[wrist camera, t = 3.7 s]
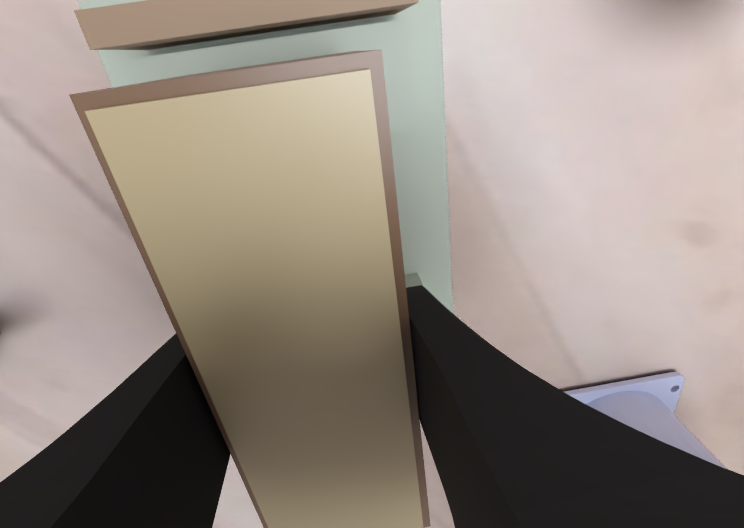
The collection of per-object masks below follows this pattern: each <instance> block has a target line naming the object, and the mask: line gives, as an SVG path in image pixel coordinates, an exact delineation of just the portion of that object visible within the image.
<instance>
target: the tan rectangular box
mask: <svg viewBox="0 0 744 528" xmlns="http://www.w3.org/2000/svg"><path fill="white" fill-rule="evenodd" d="M70 98H71V100H72V102H73V104H74V107H75V109H76V111H77V113H78V115H79V118H80V120H81V122H82V124H83V127H84V129H85V131H86V133H87V135H88V138H89V140H90V142H91V144H92V147H93V149H94V151H95V153H96V155H97V158H98V160H99V162H100V164H101V167H102V169H103V171H104V173H105V175H106V178H107V180H108V182H109V184H110V187H111V189H112V191H113V193H114V195H115V198H116V200H117V202H118V204H119V207H120V209H121V211H122V213H123V215H124V218H125V220H126V222H127V224H128V227H129V229H130V231H131V233H132V235H133V238H134V240H135V242H136V244H137V247H138V249H139V251H140V253H141V255H142V258H143V260H144V262H145V264H146V267H147V269H148V271H149V273H150V275H151V278H152V280H153V282H154V284H155V287H156V289H157V291H158V293H159V295H160V298H161V300H162V302H163V304H164V307H165V309H166V311H167V313H168V315H169V318H170V320H171V322H172V324H173V327H174V329H175V331H176V333H177V335H178V338H179V340H180V342H181V344H182V347H183V349H184V351H185V353H186V355H187V358H188V360H189V362H190V364H191V367H192V369H193V371H194V373H195V375H196V378H197V380H198V382H199V384H200V387H201V389H202V391H203V393H204V395H205V398H206V400H207V402H208V404H209V407H210V409H211V411H212V413H213V415H214V418H215V420H216V422H217V424H218V427H219V429H220V431H221V433H222V435H223V438H224V440H225V442H226V444H227V447H228V449H229V451H230V453H231V455H232V458H233V460H234V462H235V464H236V467H237V469H238V471H239V473H240V475H241V478H242V480H243V482H244V484H245V487H246V489H247V491H248V493H249V495H250V498H251V500H252V502H253V504H254V507H255V509H256V511H257V513H258V515H259V518H260V520H261V522H262V524H263V527H264V528H424V527H429V526H430V519H429V509H428V499H427V489H426V479H425V470H424V460H423V450H422V440H421V430H420V420H419V411H418V401H417V391H416V381H415V371H414V362H413V352H412V342H411V332H410V322H409V312H408V303H407V293H406V283H405V273H404V263H403V254H402V244H401V234H400V224H399V214H398V204H397V195H396V185H395V175H394V165H393V155H392V145H391V136H390V126H389V116H388V106H387V96H386V87H385V77H384V67H383V57H382V50H366V51H351V52H344V53H337V54H330V55H323V56H316V57H309V58H302V59H295V60H289V61H282V62H275V63H268V64H261V65H254V66H247V67H240V68H233V69H226V70H219V71H212V72H206V73H199V74H192V75H186V76H180V77H174V78H168V79H162V80H156V81H150V82H144V83H138V84H132V85H126V86H120V87H113V88H107V89H101V90H95V91H89V92H83V93H77V94H71V95H70Z"/></svg>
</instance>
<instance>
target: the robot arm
mask: <svg viewBox="0 0 744 528" xmlns="http://www.w3.org/2000/svg"><path fill="white" fill-rule="evenodd" d="M406 293H407V303H408V312H409V322H410V332H411V342H412V352H413V362H414V371H415V381H416V391H417V401H418V411H419V419H420V422H421V425H422V428H423V431H424V433H425V436H426V439H427V442H428V445H429V448H430V450H431V453H432V456H433V459H434V462H435V465H436V468H437V470H438V473H439V476H440V479H441V482H442V485H443V488H444V490H445V494H446V497H447V500H448V503H449V507H450V510H451V513H452V517H453V521H454V525H455V528H744V476H743V475H741V474H738V473H735V472H733V471H730V470H728V469H727V468H726V467H725V466H724V465H723V464H722V463H721V462H720V461H719V460H718V459H717V458H716V457H715V456H714V455H713V453H712V452H711V451H710V450H709V449H708V448H707V447H706V446H705V445H704V444H703V443H702V442H701V441H700V440H699V439H698V438H697V437H696V436H695V435H694V434H693V433H692V432H691V431H690V430H689V429H688V428H687V427H686V426H685V425H684V424H683V423H682V422H681V421H680V419H679V418H678V417H677V416H676V415H675V414H674V411H675V408H676V405H677V402H678V399H679V396H680V393H681V390H682V387H683V384H684V380H685V378H684V376H683V375H682V374H680V373H679V372H670V373H664V374H659V375H653V376H648V377H642V378H637V379H631V380H625V381H620V382H614V383H609V384H603V385H598V386H592V387H587V388H581V389H576V390H570V391H565V392H563V391H561V390H559V389H557V388H556V387H554V386H552V385H551V384H549V383H547V382H546V381H544V380H542V379H541V378H539V377H538V376H536V375H534V374H533V373H531V372H529V371H528V370H526V369H525V368H523V367H522V366H520V365H519V364H517V363H516V362H514V361H513V360H511V359H510V358H509V357H507V356H506V355H504V354H503V353H502V352H500V351H499V350H498V349H496V348H495V347H493V346H492V345H491V344H489V343H488V342H487V341H486V340H484V339H483V338H482V337H480V336H479V335H478V334H477V333H476V332H474V331H473V330H472V329H471V328H469V327H468V326H467V325H466V324H465V323H463V322H462V321H461V320H460V319H459V318H457V317H456V316H455V315H454V314H453V313H452V312H451V311H450V310H448V309H447V308H446V307H445V306H444V305H443V304H442V303H441V302H440V301H439V300H438V299H437V298H435V297H434V296H433V295H432V294H431V293H430V292H429V291H428V290H427V289H426V288H425V287H423V286H422V285H419V286H413V287H407V288H406ZM229 457H230V451H229V449H228V447H227V444H226V442H225V440H224V438H223V435H222V433H221V431H220V429H219V427H218V424H217V422H216V420H215V418H214V415H213V413H212V411H211V409H210V407H209V404H208V402H207V400H206V398H205V395H204V393H203V391H202V389H201V387H200V384H199V382H198V380H197V378H196V375H195V373H194V371H193V369H192V367H191V364H190V362H189V360H188V358H187V355H186V353H185V351H184V349H183V347H182V344H181V342H180V340H179V338H178V335H177V333H176V334H175V335H174V336H173V337H172V338H170V339H169V340H168V341H167V342H166V343H165V344H164V345H163V346H162V347H161V348H159V349H158V350H157V351H156V352H155V353H154V354H153V355H152V356H151V357H150V358H149V359H148V360H147V361H145V362H144V363H143V364H142V365H141V366H140V367H139V368H138V369H137V370H136V371H135V372H133V373H132V374H131V375H130V376H129V377H128V378H127V379H126V380H125V381H124V382H123V383H121V384H120V385H119V386H118V387H117V388H116V389H115V390H114V391H113V392H112V393H110V394H109V395H108V396H107V397H106V398H105V399H103V400H102V401H101V402H100V403H99V404H98V405H96V406H95V407H94V408H93V409H92V410H91V411H89V412H88V413H87V414H86V415H85V416H84V417H82V418H81V419H80V420H79V421H78V422H77V423H75V424H74V425H73V426H72V427H71V428H70V429H68V430H67V431H66V432H65V433H64V434H62V435H61V436H60V437H59V438H58V439H56V440H55V441H54V442H53V443H51V444H50V445H49V446H48V447H46V448H45V449H44V450H43V451H41V452H40V453H39V454H37V455H36V456H35V457H34V458H32V459H31V460H30V461H28V462H27V463H26V464H24V465H23V466H22V467H20V468H19V469H18V470H16V471H15V472H14V473H12V474H11V475H10V476H8V477H7V478H6V479H4V480H3V481H2V482H0V528H212V526H213V522H214V518H215V513H216V509H217V505H218V501H219V497H220V493H221V489H222V485H223V481H224V477H225V473H226V469H227V465H228V461H229Z"/></svg>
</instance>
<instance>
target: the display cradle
mask: <svg viewBox="0 0 744 528" xmlns="http://www.w3.org/2000/svg"><path fill="white" fill-rule="evenodd" d="M78 4H79V6H80V9H81V10H74V12H75V14H76V17H77V19H78V22H79V24H80V26H81V29H82V31H83V34H84V36H85V39H86V41H87V43H88V46H89V48H90V50H97V51H98V53H99V56H100V58H101V61H102V63H103V66H104V68H105V71H106V73H107V76H108V78H109V81H110V83H111V86H112V88H113V87H120V86H126V85H132V84H138V83H144V82H150V81H156V80H162V79H168V78H174V77H180V76H186V75H192V74H199V73H206V72H212V71H219V70H226V69H233V68H240V67H247V66H254V65H261V64H268V63H275V62H282V61H289V60H295V59H302V58H309V57H316V56H323V55H330V54H337V53H344V52H351V51H366V50H382V57H383V67H384V77H385V87H386V96H387V106H388V116H389V126H390V136H391V145H392V155H393V165H394V175H395V185H396V195H397V204H398V214H399V224H400V234H401V244H402V254H403V263H404V273H405V283H406V288H407V287H413V286H419V285H422V286H423V287H425V288H426V289H427V290H428V291H429V292H430V293H431V294H432V295H433V296H434V297H435V298H437V299H438V300H439V301H440V302H441V303H442V304H443V305H444V306H445V307H446V308H447V309H448V310H450V311H451V312H452V313H453V300H452V275H451V250H450V225H449V200H448V175H447V150H446V125H445V100H444V75H443V50H442V25H441V0H82V1H78Z"/></svg>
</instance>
